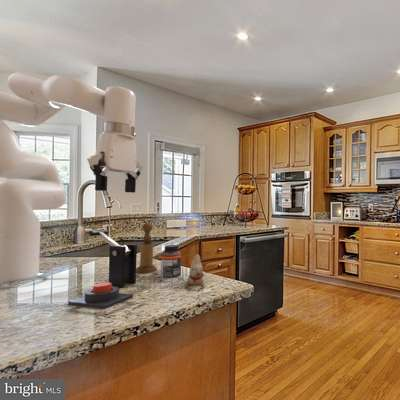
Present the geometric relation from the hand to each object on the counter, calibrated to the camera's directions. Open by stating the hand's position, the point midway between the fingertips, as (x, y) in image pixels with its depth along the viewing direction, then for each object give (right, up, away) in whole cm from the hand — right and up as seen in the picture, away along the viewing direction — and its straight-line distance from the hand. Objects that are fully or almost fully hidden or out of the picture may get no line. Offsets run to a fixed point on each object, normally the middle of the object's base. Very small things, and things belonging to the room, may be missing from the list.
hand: (116, 191), depth 80 cm
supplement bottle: (+10, -29, +11) cm, 33 cm away
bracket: (+2, -28, 0) cm, 28 cm away
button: (+5, -24, -13) cm, 28 cm away
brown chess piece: (-1, -29, +17) cm, 33 cm away
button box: (+5, -28, -13) cm, 31 cm away
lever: (-2, -16, +1) cm, 16 cm away
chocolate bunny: (+21, -29, +4) cm, 36 cm away
